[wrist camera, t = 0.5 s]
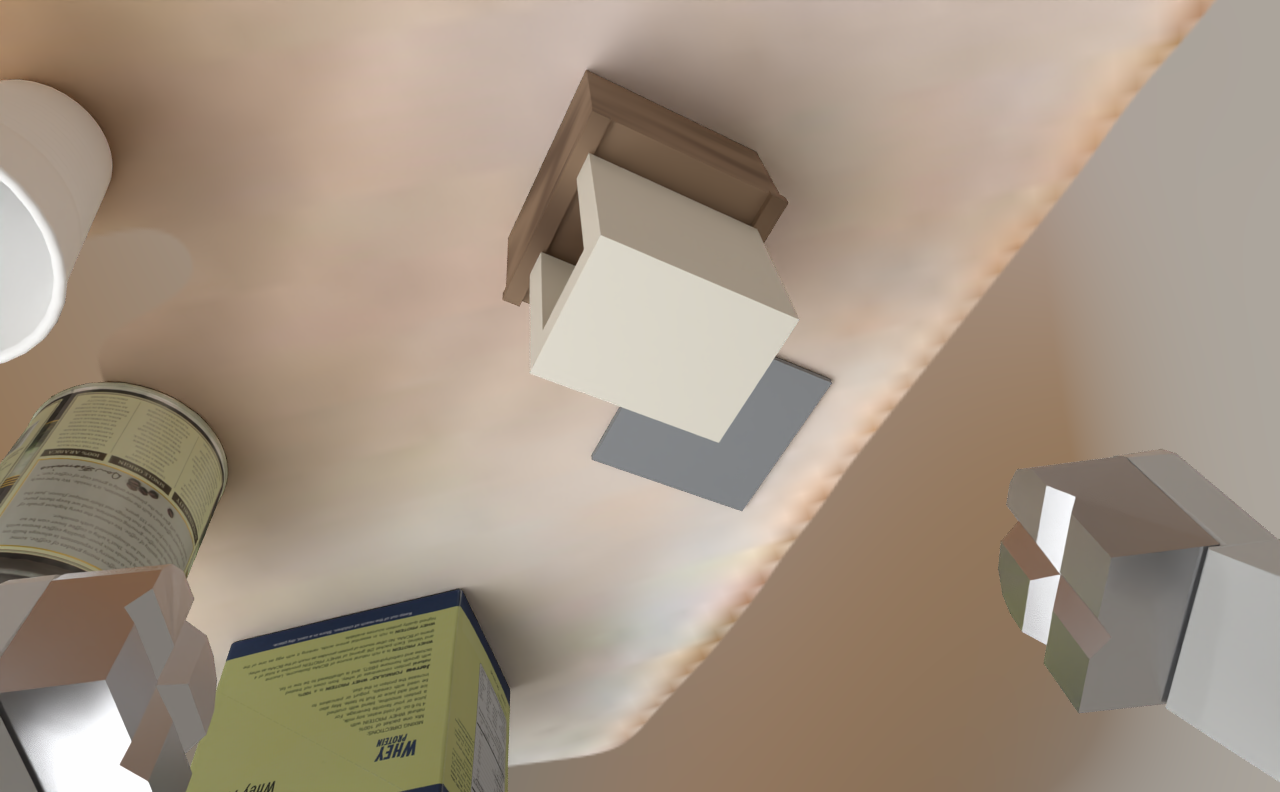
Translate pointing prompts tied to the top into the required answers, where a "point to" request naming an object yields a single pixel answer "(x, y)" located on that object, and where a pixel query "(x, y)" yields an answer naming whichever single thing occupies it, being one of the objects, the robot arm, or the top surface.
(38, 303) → the cup
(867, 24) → the top surface
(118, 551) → the coffee can
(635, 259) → the cream square bin
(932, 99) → the top surface
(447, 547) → the top surface
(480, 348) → the top surface
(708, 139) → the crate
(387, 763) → the protein box
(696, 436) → the mat
